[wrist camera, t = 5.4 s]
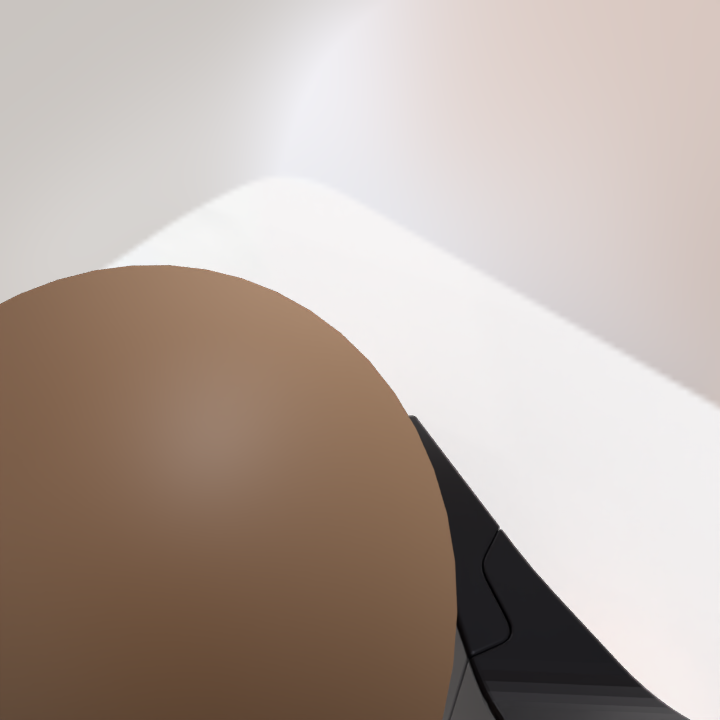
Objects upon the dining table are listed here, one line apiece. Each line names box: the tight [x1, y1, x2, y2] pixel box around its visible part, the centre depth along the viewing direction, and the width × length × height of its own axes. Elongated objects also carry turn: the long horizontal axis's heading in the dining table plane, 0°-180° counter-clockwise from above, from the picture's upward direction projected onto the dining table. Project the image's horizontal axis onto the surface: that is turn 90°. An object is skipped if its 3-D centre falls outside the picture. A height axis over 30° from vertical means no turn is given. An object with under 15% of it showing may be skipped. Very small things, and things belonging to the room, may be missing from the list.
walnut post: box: [0, 265, 457, 720], centre depth 9 cm, size 5×5×13 cm
